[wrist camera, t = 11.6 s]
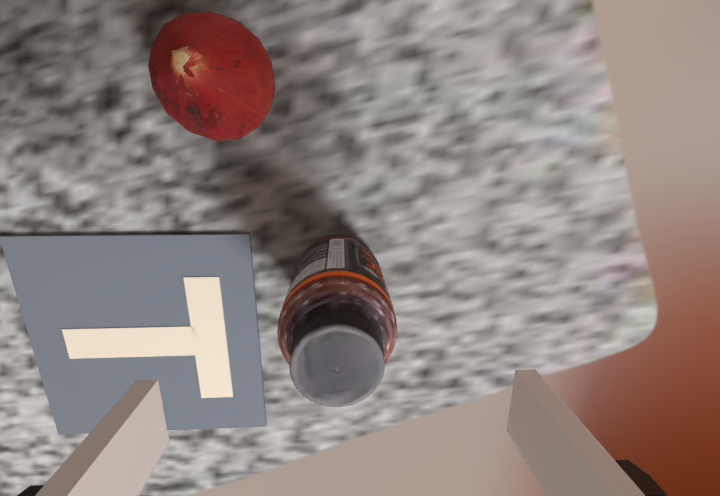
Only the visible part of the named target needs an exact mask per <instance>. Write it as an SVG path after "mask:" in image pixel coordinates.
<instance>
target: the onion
mask: <svg viewBox="0 0 720 496" xmlns="http://www.w3.org/2000/svg"><path fill="white" fill-rule="evenodd" d="M148 66H149V72H150V77H151V82H152V87H153V90H154V91H155V93H156V95H157V97H158V99H159V101H160V102H161V104H162V106H163V108H164V110H165V111H166V112H167V113H168V114H169V115H170V116H171V117H172V118H173V119H175V120H176V121H177V122H178V123H179V124H180V125H182V126H183V127H184V128H185V129H186V130H188V131H190V132H192V133H195V134H198V135H201V136H204V137H207V138H210V139H213V140H216V141H221V140H229V139H238V138H242V137H243V136H245V135H246V134H248V133H249V132H251V131H252V130H254V129H256V128H257V127H259V126H260V124H261V122H262V121H263V119H264V118H265V116H266V115H267V113H268V112H269V110H270V109H271V105H272V100H273V96H274V91H275V83H274V76H273V69H272V62H271V60H270V58H269V57H268V55H267V53H266V51H265V49H264V47H263V46H262V44H261V42H260V40H259V39H258V38H257V37H256V36H255V35H254V34H252V33H251V32H250V31H249V30H248V29H247V28H245V27H244V26H243V25H242V24H241V23H239V22H237V21H235V20H233V19H230V18H227V17H224V16H222V15H219V14H216V13H213V12H196V13H184V14H182V15H180V16H179V17H177V18H175V19H173V20H171V21H170V22H168V23H166V24H165V25H164V26H163V28H162V29H161V31H160V32H159V34H158V35H157V37H156V38H155V40H154V41H153V43H152V47H151V53H150V59H149V64H148Z"/></svg>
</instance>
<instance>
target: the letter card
mask: <svg viewBox="0 0 720 496" xmlns="http://www.w3.org/2000/svg"><path fill="white" fill-rule="evenodd" d="M0 241H1V245H2V248H3V251H4V255H5V258H6V261H7V265H8V268H9V271H10V275H11V278H12V281H13V285H14V288H15V291H16V295H17V298H18V301H19V305H20V308H21V311H22V315H23V318H24V321H25V325H26V328H27V331H28V335H29V338H30V341H31V345H32V348H33V351H34V354H35V358H36V361H37V364H38V368H39V371H40V374H41V378H42V381H43V384H44V388H45V391H46V394H47V398H48V401H49V404H50V408H51V411H52V414H53V418H54V421H55V424H56V428H57V431H58V434H81V433H91V431H92V430H93V429H94V428H95V427H96V426H97V425H98V423H99V422H100V421H101V420H102V419H103V418H104V417H105V415H106V414H107V413H108V412H109V411H110V410H111V409H112V407H113V406H114V405H115V404H116V403H117V402H118V401H119V399H120V398H121V397H122V396H123V395H124V394H125V393H126V391H127V390H128V389H129V388H130V387H131V386H132V385H133V384H134V382H135V381H138V380H158V382H159V388H160V393H161V399H162V404H163V410H164V416H165V421H166V427H167V430H184V429H210V428H235V427H261V426H266V424H267V422H266V411H265V399H264V388H263V376H262V365H261V353H260V341H259V330H258V318H257V307H256V295H255V284H254V272H253V261H252V249H251V237H250V234H127V235H3V236H0Z"/></svg>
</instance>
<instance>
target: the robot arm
mask: <svg viewBox="0 0 720 496" xmlns="http://www.w3.org/2000/svg"><path fill="white" fill-rule="evenodd" d="M507 431H508V433H509V434H510V436H511V438H512V440H513V441H514V443H515V445H516V446H517V448H518V450H519V452H520V453H521V455H522V457H523V458H524V460H525V462H526V464H527V465H528V467H529V469H530V470H531V472H532V473H533V476H534V477H535V479H536V481H537V482H538V484H539V486H540V487H541V489H542V491H543V493H544V494H545V496H667V494H666V493H665V492H664V491H663V490H662V488H661V487H660V486H659V485H658V484H657V483H656V482H655V481H654V480H653V479H652V478H651V477H650V476H649V475H648V474H647V473H645V472H644V471H642V470H641V469H640V468H638V467H637V466H636V465H634V464H633V463H631V462H630V461H629V460H614V459H613V458H612V457H611V456H610V455H609V453H607V451H606V450H605V449H604V448H603V447H602V445H601V444H600V443H599V442H598V441H597V440H596V439H595V437H594V436H593V435H592V434H591V433H590V432H589V431H588V429H587V428H586V427H585V426H584V425H583V424H582V422H580V420H579V419H578V418H577V417H576V416H575V414H574V413H573V412H572V411H571V410H570V409H569V408H568V407H567V406H566V404H565V403H564V402H563V401H562V400H561V398H560V397H559V396H558V395H557V394H556V393H555V392H554V391H553V390H552V388H551V387H550V386H549V385H548V384H547V383H546V381H545V380H544V379H543V378H542V377H541V376H540V374H539V373H538V372H537V371H536V370H516V371H515V378H514V384H513V391H512V399H511V405H510V412H509V418H508V426H507ZM168 443H169V438H168V432H167V427H166V421H165V416H164V410H163V404H162V399H161V393H160V388H159V382H158V380H138V381H135V382H134V384H133V385H132V386H131V387H130V388H129V389H128V390H127V391H126V393H125V394H124V395H123V396H122V397H121V398H120V399H119V401H118V402H117V403H116V404H115V405H114V406H113V407H112V409H111V410H110V411H109V412H108V413H107V414H106V415H105V417H104V418H103V419H102V420H101V421H100V422H99V423H98V425H97V426H96V427H95V428H94V429H93V430H92V431H91V433H90V434H89V435H88V436H87V437H86V438H85V439H84V440H83V442H82V443H81V444H80V445H79V446H78V447H77V448H76V450H75V451H74V452H73V453H72V454H71V455H70V456H69V458H68V459H67V460H66V461H65V462H64V463H63V464H62V466H61V467H60V468H59V469H58V470H57V471H56V472H55V474H54V475H53V476H52V477H51V478H50V479H49V480H48V482H47V483H46V484H45V485H41V486H30V487H28V488H27V489H26V490H24V491H23V492H22V493H20V494H19V495H18V496H138V495H139V493H140V492H141V490H142V488H143V486H144V485H145V483H146V481H147V480H148V478H149V476H150V474H151V473H152V471H153V469H154V467H155V466H156V464H157V462H158V461H159V459H160V457H161V455H162V454H163V452H164V450H165V449H166V447H167V445H168Z"/></svg>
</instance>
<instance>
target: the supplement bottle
mask: <svg viewBox="0 0 720 496" xmlns="http://www.w3.org/2000/svg"><path fill="white" fill-rule="evenodd" d="M396 338H397V324H396V317H395V313H394V310H393V306H392V302H391V300H390V297H389V293H388V291H387V288H386V285H385V282H384V279H383V276H382V273H381V269H380V267H379V263H378V261H377V259H376V258H375V256H374V255H373V253H372V252H371V251H370V250H369V249H368V248H367V247H366V246H365V245H364V244H362V243H361V242H359V241H357V240H355V239H353V238H349V237H343V236H333V237H327V238H324V239H322V240H319V241H317V242H316V243H314V244H313V245H311V246H310V247H309V248H308V249H307V250H306V251H305V253H304V254H303V256H302V257H301V259H300V261H299V263H298V265H297V268H296V271H295V274H294V276H293V279H292V282H291V285H290V288H289V290H288V293H287V296H286V299H285V301H284V304H283V308H282V311H281V314H280V318H279V323H278V341H279V346H280V349H281V352H282V354H283V356H284V358H285V359H286V361H287V363H288V364H289V365H290V366H289V367H290V375H291V378H292V381H293V383H294V385H295V387H296V388H297V389H298V390H299V391H300V393H301V394H302V395H303V396H305V397H306V398H307V399H309V400H310V401H313V402H315V403H318V404H320V405H324V406H329V407H343V406H349V405H353V404H355V403H357V402H360V401H361V400H363V399H365V398H366V397H368V396H369V395H370V394H371V393H372V392H373V391H374V390H375V389H376V388H377V386H378V385H379V384H380V382H381V380H382V377H383V374H384V368H385V363H386V362H387V360H388V359H389V357H390V355H391V353H392V351H393V349H394V346H395V342H396Z"/></svg>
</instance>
